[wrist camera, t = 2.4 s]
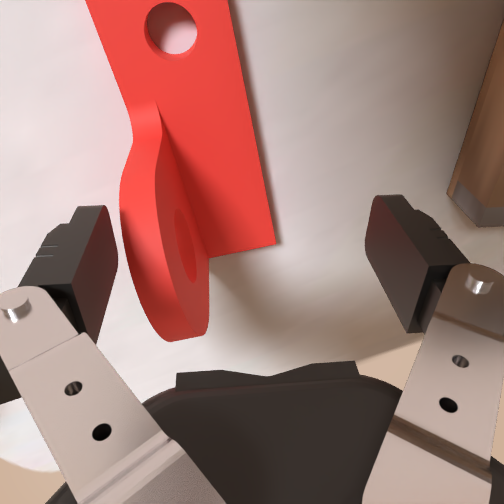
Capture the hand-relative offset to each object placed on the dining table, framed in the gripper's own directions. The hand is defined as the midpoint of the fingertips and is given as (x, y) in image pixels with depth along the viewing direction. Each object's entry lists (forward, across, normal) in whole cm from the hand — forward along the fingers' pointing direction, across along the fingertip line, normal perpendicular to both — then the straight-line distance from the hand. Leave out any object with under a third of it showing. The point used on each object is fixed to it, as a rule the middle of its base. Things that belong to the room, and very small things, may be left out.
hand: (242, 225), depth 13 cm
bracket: (+7, +1, -1) cm, 7 cm away
